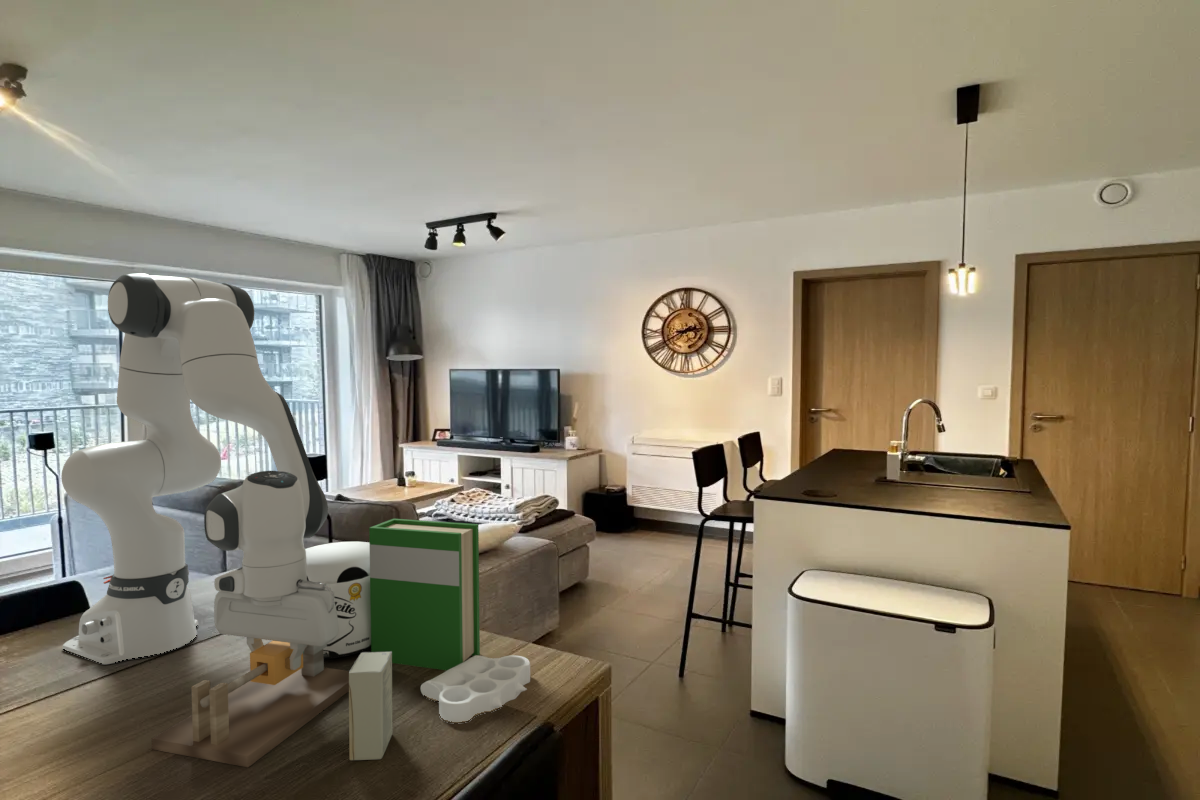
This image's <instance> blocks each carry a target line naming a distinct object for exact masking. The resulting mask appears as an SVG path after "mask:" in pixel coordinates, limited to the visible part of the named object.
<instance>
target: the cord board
mask: <svg viewBox="0 0 1200 800" xmlns="http://www.w3.org/2000/svg"><path fill="white" fill-rule="evenodd" d="M325 647H327V644H325V645H323V646H312V645H307V646H306V648H305V650H304V651H303V668H301V669H300V670H298V671H297V672H295V673H293V674H292V675H290V676H289V677H287V678H285V679H284V680H282V681H281V682H279V683H277V684H276V685H271V684H264V683H257V682H251V680H252V679H254V678H256V677H257V676H259V675H261V674H263V673H264V672H266V671H268V663H264V664H262V665H260V666H259V667H257V668H255V669H253V670H252V671H248V672H246V673H244V674H243V675H241V676H239V677H238V678H236V679H234V680H232V681H231V682H229V683H228V682H220V683H218V684H217V685H215V686H213V687H211V680H209V679H208V680H207V679H203V680H201V681H200V682H197V683H196V684H194V685H192V686H191V687H190V688H191V714H190V715H189V716H187V717H186V718H184V719H182V720H180V721H179V722H177V723H175V724H174V725H172V726H170V727H169V728H167V729H165V730H164V731H162V732H160V733H158V734H156V735H154V736H153V737H152V738H151V750H154V751H160V752H164V753H165V752H166V753H170V754H176V755H180V756H186V757H191V758H196V759H201V760H206V761H207V760H208V761H212V762H218V763H221V764H222V763H223V764H228V765H233V766H239V767H242V768H249V767H251V766H252V765H254V764H255V763H256V762H257V761H259V760H260V759H261V758H263V757H265V755H267V754H268V753H270V752H271V751H272V750H273V749H275V748H277V747H278V745H280V744H282V742H284V741H285V740H287V739H288V738H289V737H290V736H292V735H294V734H295V733H296V732H297V731H298V730H300V729H301V728H302V727H304V726H305V725H307V724H308V723H309V722H311V721H312V720H313V719H315V718H316V717H317V716H318V715H319V713H320V714H321V713H322V712H323V710H324V711H325V710H326V709H328V708H329V707H330V706H331V705H333V704H334V703H335V702H337V701H338V700H340V699H341V698H342V697H344V696H345V695H346V694H347V693H349V672H350V670H346V669H345V670H343V669H338V668H337V669H336V668H330V667H324V665H325V664H324V663H325V662H324V661H325V659H324V657H323V649H324V648H325Z"/></svg>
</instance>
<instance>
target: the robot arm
mask: <svg viewBox="0 0 1200 800" xmlns="http://www.w3.org/2000/svg"><path fill="white" fill-rule="evenodd" d="M253 302H254V301H253V300H252V298H251V296H250V295H249V293H248V292H247V291H246V290H245V289H244V288H241V287H239V286H236V285H233V284H230V283H227V282H226V283H225V282H222V283H219V282H215V281H211V280H206V279H203V278H202V279H201V278H198V277H197V278H196V277H192V276H191V277H190V276H185V277H180V276H171V275H169V276H168V275H149V274H148V273H128V274H123V275H121V276H119V277H118V278H117V279H116V280H115V281H114V282H113V283H112V284H111V286H110V288H109V291H108V296H107V313H108V316H109V319H110V321H111V323H112V324H113V325H114V326H115V327H116V328H117V329H118V331H120V332H121V333H124V337H123V340H122V345H121V352H120V358H119V366H118V367H119V368H118V378H117V380H118V381H117V393H116V405H117V407H118V409H119V411H120V412H121V413H122V414H123V415H124V416H126V418H128V419H130V420H133V421H135V422H137V423H138V424H142V425H145V426H144V427H145V429H146V437H145V439H142V440H141V439H140V440H127V441H119V442H106V443H101V444H97V445H93V446H89V447H86V448H82V449H79V450H75V451H74V452H73V453H71V454H70V455H69V456H68V458H67V459H66V460H65V462H64V464H63V466H62V471H61V484H62V487H63V489H64V491H65V493H67V495H68V496H69V497H70V498H71V499H72V500H74V501H75V502H76V503H79V504H81V505H82V506H84V507H87V508H88V509H90V510H92V512H94V513H95V514H96V515H98V517H99V518H100V519H101V520H102V521H103V523H104V524H105V526H106V528H107V530H108V533H109V537H110V540H111V547H112V548H111V549H112V554H113V556H112V557H113V559H112V560H113V570H114V571H113V572H114V573H113V574H111V575H107V576H106V577H103V580H105V581H104V582H103V583H102V584H108V586H107V590H106V594H105V595H104V596H103V597H102V598H101V599H100V600H98V601H97V602H95V604H93V605H92V606H91V607H90V608H89V609H87V610H85V612H83V614H82V615H81V617H80V619H79V623H78V624H79V625H78V635H76V636H74V637H72V638H71V639H69V640H67V641H65V642H64V643H63V644H62V649H65V650H67V651H71V652H74V653H76V654H79V655H81V656H84V657H87V658H89V659H92V660H94V661H96V662H95V663H97V662H99V663H98V664H100V663H102V664H101V665H110V664H115V662H116V663H119V662H118V661H120V662H122V660H124V661H127V660H126V659H128V660H133V659H132V658H135V659H139V658H138V657H142V658H145V657H144V656H148V657H151V656H150V655H153V656H155V655H154V654H157V655H160V653H161V654H164V652H165V653H167V652H166V651H168V652H171V651H174V650H177V649H179V648H182V647H184V646H185V644H186V645H187V644H190V643H191V642H192V641H193V639H194V638H195V637H196V638H197V636H198V631H197V628H196V626H197V625H198V626H199V620H198V619H196V618H195V614H194V608H193V601H192V595H191V594H192V593H191V589H190V588H189V587H188V584H189V581H190V580H189V579H190V578H189V575H190V571H189V567H188V564H187V563H186V549H185V548H186V547H185V545H186V544H185V543H186V542H185V541H186V540H185V539H186V538H185V530H184V527H183V526H182V524H181V523H180V522H179V521H178V520H177V519H176V518H173V517H170V516H167V515H164V514H161V513H157V511H156V510H155V508H154V505H153V498H155V497H162V496H167V495H174V494H175V495H176V494H180V493H186V492H190V491H193V490H197V489H199V488H202V487H204V486H207V485H209V484H212V483H213V482H214V481H215V479H216V478H217V477H218V475H219V473H220V470H221V467H222V466H221V465H222V460H221V459H222V458H221V454H220V452H219V449H218V448H217V447H216V445H215V444H214V443H213V442H211V440H209V439H207V438H206V437H205V436H203V435H202V433H201V432H200V431H199V430H198V428H197V427H196V425H195V422H194V420H193V417H192V412H191V402H192V403H193V404H194V405H195V406H196V407H197V408H198V409H200V410H202V411H203V412H205V413H207V414H209V415H210V416H213V417H216V418H218V419H222V420H226V421H229V422H233V423H237V424H240V425H243V426H245V427H248V428H251V429H252V430H254V431H256V432H257V433H258V434H260V435H261V436H262V437H263V438H264V440H265V441H266V443H267V445H268V447H269V451H270V453H271V455H272V459H273V461H274V464H275V467H276V470H262V471H257V472H253V473H251V474H249V475H248V476H246V477H245V478H244V479H243V482H242V484H241V485H240V486H237V487H236V488H233V489H231V490H228V491H225V492H222V493H218V494H216V496H214V497H213V498H212V499H211V501H210V502H209V504H208V505H207V506H206V508H205V510H204V516H203V518H204V519H203V523H204V533H205V537H206V540H207V541H208V542H210V543H211V544H212V545H213V546H215V547H216V548H217V549H219V550H221V551H226V552H227V551H228V552H229V551H230V552H231V551H232V552H233V551H234V552H235V551H242V552H243V553H242V554H243V557H242V562H241V567H239V568H237V569H234V570H231V571H228V572H226V573H223V574H222V575H219V576H217V577H215V578H214V581H213V582H214V589H215V591H217V593H216V594H215V597H214V602H213V603H214V604H213V620H214V627H215V629H216V630H217V632H218V633H219V634H220V635H227V636H234V637H240V638H241V637H243V638H246V644H247V646H248V648H249V650H250V653H251V652H253V651H255V650H256V649H258V648H260V647H262V646H264V645H265V644H264V642H263V640H265V641H280V642H288V643H290V649H293V652H292V654H291V656H289V657H287V658H285V664H286V665H285V668H286V669H290V670H296V669H297V668H299V667H300V666H301V655H302V653H303V651H304V650H305V648H306V646H307V645H312V646H323V645H325V644H327V643H329V642H330V641H332V640H333V639H334V638H335V637H336V636H337V634H338V631H339V629H338V618H337V611H336V605H335V601H334V592H333V590H331V588H330V587H328V586H326V583H323V582H312V581H307V564H306V550H305V549H306V547H305V544H304V540H305V539H310V538H313V536H315V535H316V534H317V533H318V532H319V531H320V529H321V527H322V526H323V525H324V523H325V522H326V520H327V517H328V514H329V507H328V506H329V505H328V499H327V497H326V495H325V493H324V490H323V489H322V487H321V486H320V483H319V481H318V480H317V478H316V476H315V473H314V471H313V468H312V466H311V463H310V460H309V457H308V455H307V452H306V449H305V446H304V443H303V440H302V437H301V434H300V432H299V429H298V427H297V424H296V421H295V419H294V418H295V417H294V416H293V414H292V412H291V409H290V407H289V404H288V402H287V400H286V399H285V397H284V396H283V395H282V394H281V393H279V392H276V391H275V390H274V389H273V388H272V387H271V385H269V383H268V381H267V380H266V378H265V377H264V375H263V373H262V371H261V368H260V365H259V360H258V353H257V350H256V345H255V342H254V341H255V340H254V339H253V335H252V332H251V331H252V330H251V328H252V327H253V324H254V320H255V306H254V303H253ZM107 579H108V580H107ZM325 588H326V589H325ZM198 626H197V627H198ZM196 635H197V636H196ZM196 638H195V639H196ZM195 639H194V640H195ZM191 640H192V641H191ZM190 641H191V642H190ZM176 648H177V649H176ZM173 649H174V650H173ZM170 650H171V651H170ZM89 659H88V660H89ZM92 660H91V661H92ZM94 661H93V662H94Z"/></svg>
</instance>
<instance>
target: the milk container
mask: <svg viewBox="0 0 1200 800" xmlns="http://www.w3.org/2000/svg"><path fill="white" fill-rule="evenodd" d="M305 550H306V564H307V581H312V582H323V583H326V586H328V587H330V588H331V590H333V592H334V601H335V605H336V611H337V618H338V629H339V631H338V634H337V636H336V637H335V638H334V639H333V640H332V641H330V642H329V643H327V647H325V648H324V649H323V657H324V660H325V659H326V660H327V659H338V658H344V657H350V656H352V655H355V654H359V653H362V652H366V650H369V649H370V648H371V601H370V544H369V542H368V541H367V542H366V541H340V542H339V541H337V542H329V543H324V544H319V545H315V546H311V547H307V548H305ZM325 589H326V588H325Z"/></svg>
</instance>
